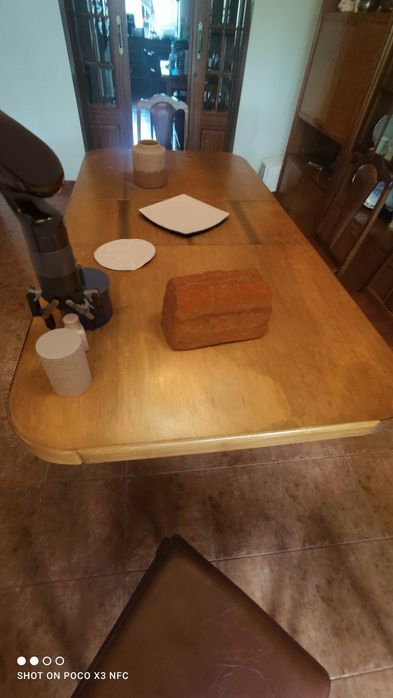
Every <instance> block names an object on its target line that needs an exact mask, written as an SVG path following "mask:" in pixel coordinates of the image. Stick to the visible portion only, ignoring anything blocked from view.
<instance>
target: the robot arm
mask: <svg viewBox="0 0 393 698" xmlns="http://www.w3.org/2000/svg"><path fill="white" fill-rule="evenodd" d="M65 177H66V176H65V170H64V167H63V164H62V161H61V160H60V158H59V157H58V155H57V153H56V152H55V151H54V150H53V149H52V148H51V147H50V146H49V145H48V143H46V142H45V141H44V140H43V139H41V138H40V137H39V136H38V135H36V134H35V133H34V132H33V131H31V130H30V129H29V128H27V127H26V126H24V125H23V124H22V123H21V122H19V121H18V120H16V119H15V118H13V117H11V116H10V115H9V114H7V113H6V112H5V111H3V110H2V109H1V108H0V195H1V196H2V198H3V200H4V201H5V202H6V204H7V206H8V208H9V209H10V211H11V212H12V214H13V215H14V217H15V218H16V219H17V221H18V223H19V225H20V228H21V231H22V234H23V237H24V240H25V243H26V246H27V249H28V255H29V259H30V262H31V265H32V268H33V271H34V274H35V276H36V279H37V282H38V285H39V288H40V289H36V287H35V286H29V288H28V290H27V292H26V295H25V297H26V300H27V303H28V306H29V310H30V312H31V316H32V317H34V318H38V317H41V318H42V319H43V320H44V323H45V326H46V328H47V329H48V330H49V331H51V330H55V329H57V321H56V319H55V317H54V314H53V313H54V312H55V309H57V310H58V311H60V310H77V311H78V312H79V313H81V314H84V315H85V316H87V317H88V322H89V326H90V330H89V331H90V332H95V330H97V329H98V328H97V318H96V317H97V316H98V317H102V313H103V309H104V307H103V304H102V300H101V296H100V292H99V289H98V288H96V287H95V288H93V290H84V289H83V288H82V286H81V281H80V277H79V273H78V268H77V264H78V263H77V257H76V256H75V255H76V254H75V252H74V249H73V247H72V244H71V241H70V237H69V232H68V229H67V224H66V221H65V218H64V215H63V213H62V211H61V210H60V209H59V208H58V207H56V206H55V205H53V204H52V203H51V202H49V201H48V200H47V199H51V198H54V197H56V196H57V195H59V194H60V192H62V190H63V189H64V185H65V180H66V179H65ZM85 297H88V298H89V300H90V301H91V302H92V301H93V305H94V308H93V307H92V306H91V305H90V304H89V302H88V301H87V300H86V299H85ZM40 298H42V299H43V300H44V301H45V302H47V305H46V306H45V308H44V307H42V305H41V303H40ZM80 304H81V306H80ZM96 328H97V329H96Z"/></svg>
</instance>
